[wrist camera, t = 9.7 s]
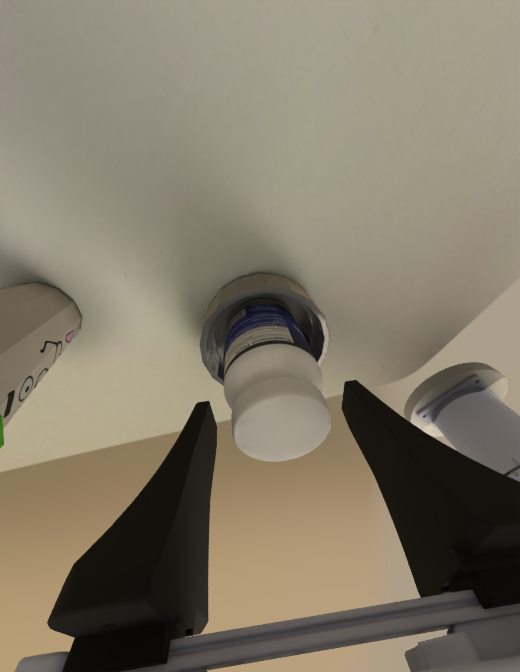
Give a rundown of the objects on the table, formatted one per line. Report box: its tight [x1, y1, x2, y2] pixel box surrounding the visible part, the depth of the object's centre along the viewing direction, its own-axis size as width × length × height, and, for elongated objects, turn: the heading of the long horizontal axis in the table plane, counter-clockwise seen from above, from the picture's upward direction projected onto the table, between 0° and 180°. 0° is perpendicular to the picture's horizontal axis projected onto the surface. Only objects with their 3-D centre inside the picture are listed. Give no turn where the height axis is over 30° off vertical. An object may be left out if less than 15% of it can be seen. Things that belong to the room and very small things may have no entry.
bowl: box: [200, 273, 330, 386], centre depth 18 cm, size 9×9×4 cm
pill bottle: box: [224, 299, 331, 461], centre depth 15 cm, size 6×6×10 cm
